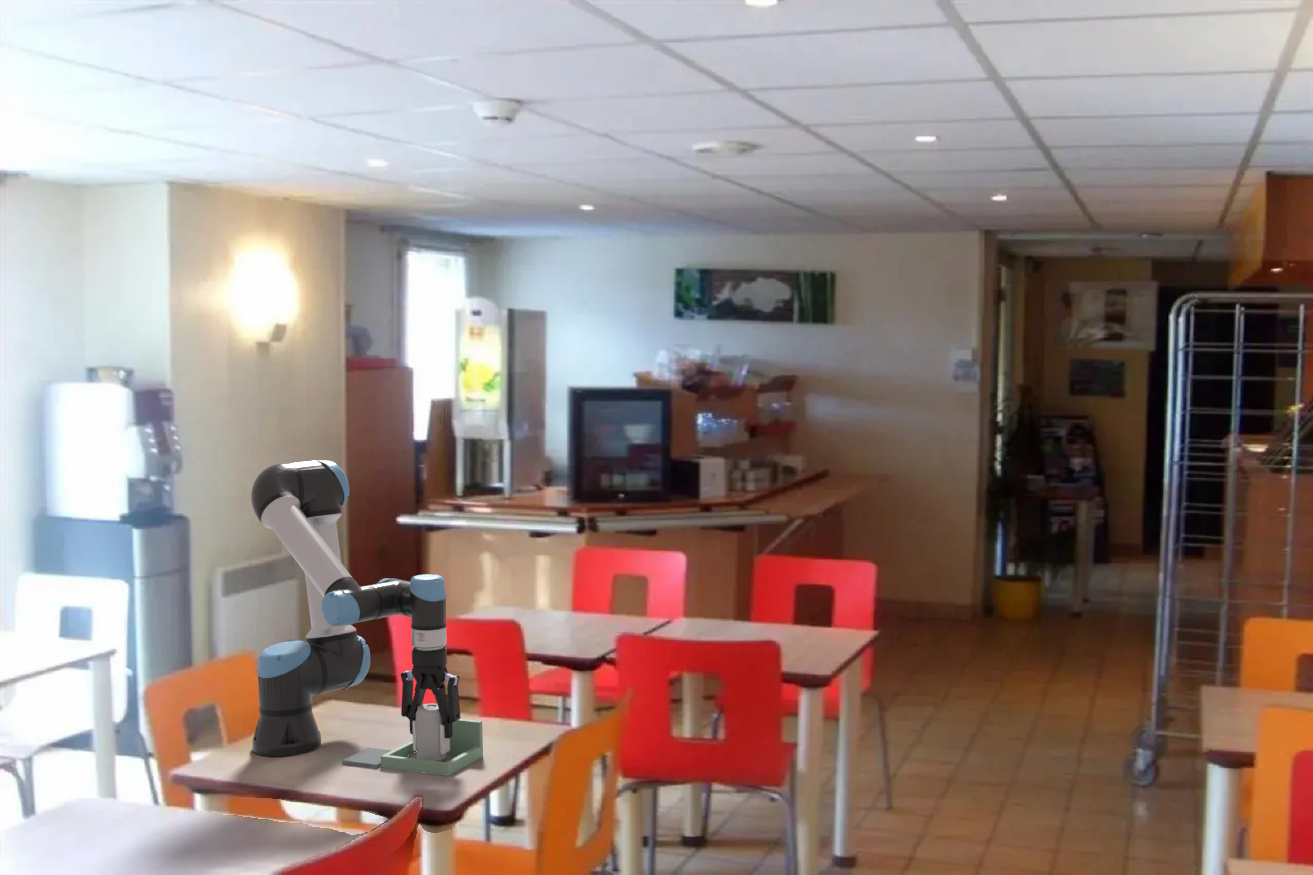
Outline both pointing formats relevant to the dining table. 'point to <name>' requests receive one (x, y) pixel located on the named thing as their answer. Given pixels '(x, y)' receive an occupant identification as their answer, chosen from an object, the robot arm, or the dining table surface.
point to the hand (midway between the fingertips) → (431, 750)
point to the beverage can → (428, 732)
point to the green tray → (461, 743)
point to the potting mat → (366, 758)
